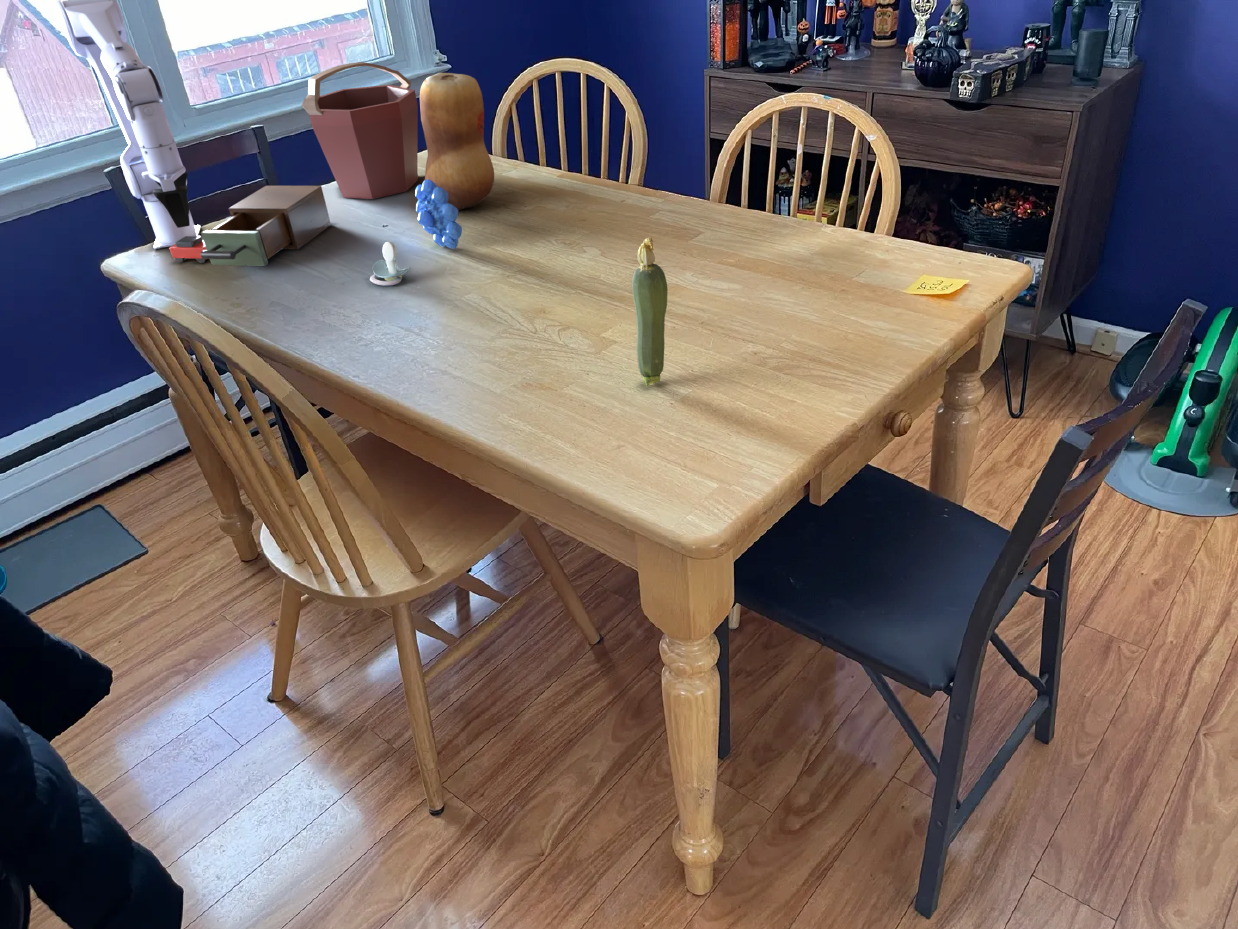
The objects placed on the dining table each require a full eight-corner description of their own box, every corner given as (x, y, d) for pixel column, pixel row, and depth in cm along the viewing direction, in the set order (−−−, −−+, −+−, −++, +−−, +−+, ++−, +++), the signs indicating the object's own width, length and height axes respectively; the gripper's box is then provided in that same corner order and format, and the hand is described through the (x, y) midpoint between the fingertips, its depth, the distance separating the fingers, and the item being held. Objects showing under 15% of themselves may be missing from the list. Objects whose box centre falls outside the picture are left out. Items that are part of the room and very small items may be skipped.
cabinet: (297, 249, 172) (286, 208, 168) (241, 248, 175) (228, 208, 171) (331, 224, 183) (321, 185, 179) (277, 224, 186) (266, 185, 181)
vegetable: (636, 375, 123) (626, 229, 112) (669, 371, 123) (662, 225, 112) (640, 391, 119) (630, 242, 108) (673, 387, 119) (667, 238, 108)
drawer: (249, 276, 160) (239, 243, 157) (195, 275, 163) (183, 242, 159) (298, 241, 174) (290, 209, 170) (247, 240, 176) (238, 209, 173)
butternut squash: (494, 216, 180) (473, 80, 166) (426, 220, 181) (400, 86, 167) (502, 193, 192) (483, 64, 177) (438, 197, 192) (415, 69, 178)
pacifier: (390, 291, 153) (417, 277, 157) (381, 255, 149) (409, 242, 153) (362, 282, 157) (389, 269, 161) (353, 247, 153) (381, 235, 157)
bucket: (335, 211, 189) (303, 83, 175) (308, 186, 206) (276, 66, 192) (446, 185, 199) (425, 61, 185) (412, 163, 215) (389, 47, 201)
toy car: (174, 262, 171) (167, 242, 169) (187, 254, 175) (180, 235, 173) (207, 263, 170) (200, 243, 168) (219, 255, 173) (213, 235, 171)
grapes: (406, 247, 169) (392, 181, 163) (436, 235, 173) (424, 171, 166) (443, 261, 162) (430, 193, 155) (474, 249, 166) (462, 182, 159)
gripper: (134, 138, 165) (160, 212, 173) (131, 157, 154) (159, 236, 161) (175, 131, 167) (200, 205, 175) (175, 150, 156) (202, 228, 163)
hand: (183, 220), depth 168 cm, fingers open, 7 cm apart
